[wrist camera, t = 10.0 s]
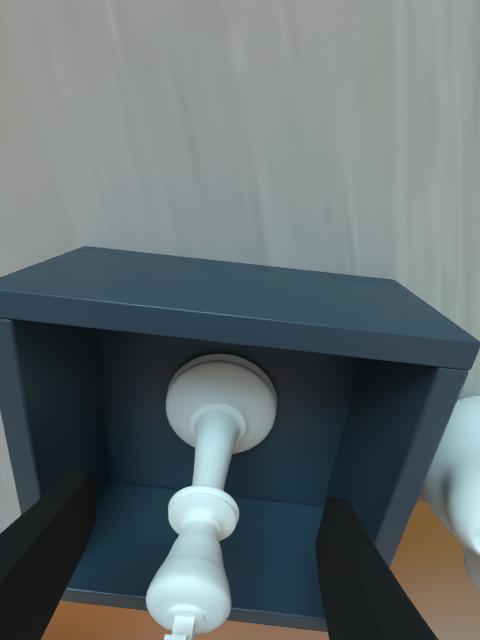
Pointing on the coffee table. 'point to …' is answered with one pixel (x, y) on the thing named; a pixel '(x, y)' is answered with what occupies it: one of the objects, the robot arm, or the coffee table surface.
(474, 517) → the figurine
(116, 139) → the coffee table surface
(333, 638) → the robot arm
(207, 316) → the bin
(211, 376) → the chess piece
